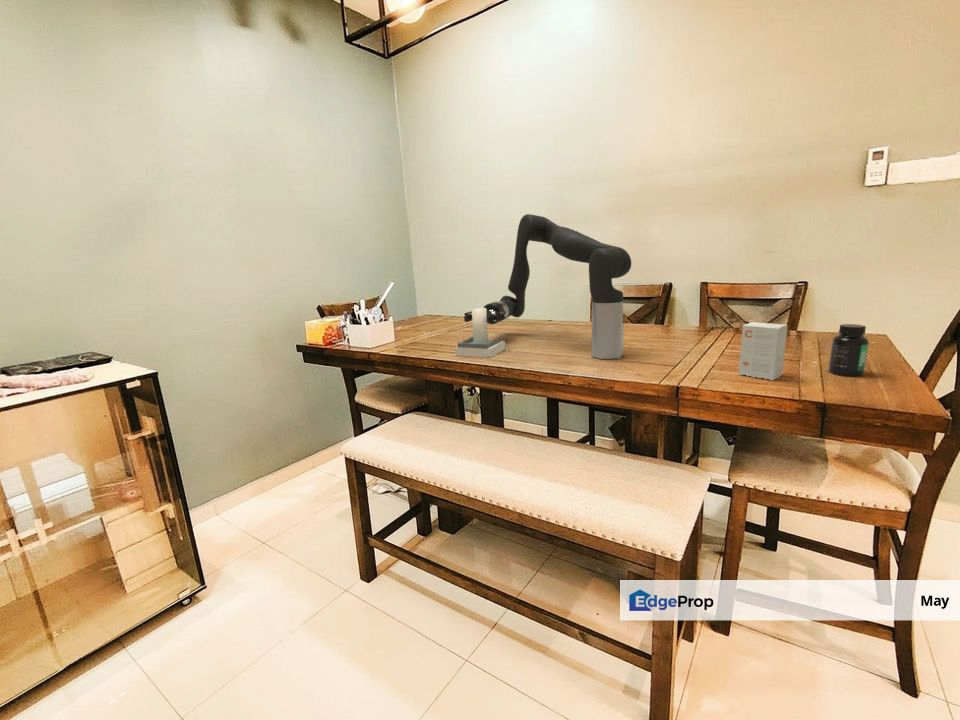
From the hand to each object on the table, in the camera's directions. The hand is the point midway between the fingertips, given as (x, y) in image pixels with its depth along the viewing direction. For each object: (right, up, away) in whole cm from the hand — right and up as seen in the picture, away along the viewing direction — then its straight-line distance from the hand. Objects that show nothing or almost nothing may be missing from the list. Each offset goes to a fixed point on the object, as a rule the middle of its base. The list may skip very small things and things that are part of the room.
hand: (476, 319), depth 149 cm
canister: (+1, -8, +4) cm, 9 cm away
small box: (+72, -18, -37) cm, 83 cm away
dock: (+1, -11, +5) cm, 12 cm away
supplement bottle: (+92, -17, -39) cm, 102 cm away
